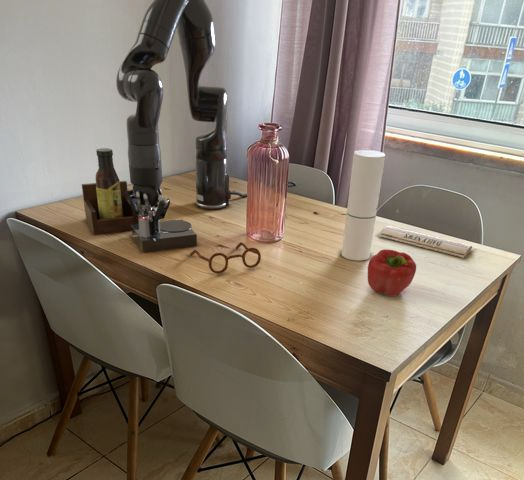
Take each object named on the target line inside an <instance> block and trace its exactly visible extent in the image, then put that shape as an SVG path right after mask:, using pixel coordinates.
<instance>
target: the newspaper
mask: <svg viewBox="0 0 524 480" xmlns="http://www.w3.org/2000/svg"><path fill="white" fill-rule="evenodd" d="M378 237H379V238H384V239H389V240H392V241H396V242H400V243H404V244H407V245H412V246H415V247H420V248H423V249H427V250H432V251H436V252H439V253H443V254H447V255H451V256H455V257H460V258H463V259H464V258H465V257H466V256H467V255H468V254H469V253H470V252H471V250H472V248H473V245H471V244H467V243H462V242H458V241H453V240H451V239H446V238H441V237H437V236H434V235H428V234H426V233H425V234H424V233H422V232H421V233H420V232H416V231H412V230H408V229H404V228H399V227H396V226H393V225H386V226H384V227H383V228H382V230H381V231H380V234H379V235H378Z"/></svg>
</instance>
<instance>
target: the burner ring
mask: <svg viewBox="0 0 524 480" xmlns="http://www.w3.org/2000/svg"><path fill="white" fill-rule="evenodd" d="M160 222H161V223H160V230H163V231H167V232H182V231H186V230H189V229H190V228H191V229H192V224H191V222H189V221H187V220H183V219H167V220H163V221H160Z"/></svg>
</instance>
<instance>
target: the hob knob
mask: <svg viewBox="0 0 524 480" xmlns="http://www.w3.org/2000/svg"><path fill="white" fill-rule="evenodd" d="M154 215H155V214H154V213H153V216H154ZM160 220H161V219H160ZM160 220H158V226H159V232H158V233H160V222H161V221H160ZM149 221H150V220H149V216H146V217H140V218H138V222H139V225H140V236H142V237H145V238H147V237H150V236H152V235H150V229H149Z"/></svg>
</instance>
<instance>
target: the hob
mask: <svg viewBox="0 0 524 480" xmlns="http://www.w3.org/2000/svg"><path fill="white" fill-rule="evenodd" d="M161 222H162V221H160V223H161ZM130 232H131V233H130V234H131V237H132V239H133V240H134V241H135V243H136V245H137V246H138V247H139V249H140V250H141V251H142V253H149V252H156V251H165V250H172V249H180V248H181V249H182V248H188V247H197V246H198V236H197V233H196V232H195V231H194V229H192V227H191V228H190V229H189V230H186V231H182V232H167V231H163V230H160V233H158V234H157V235H154V236H150V237H147V238H145V237H142V236H140V225H139V224H135V225H131V230H130Z"/></svg>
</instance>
